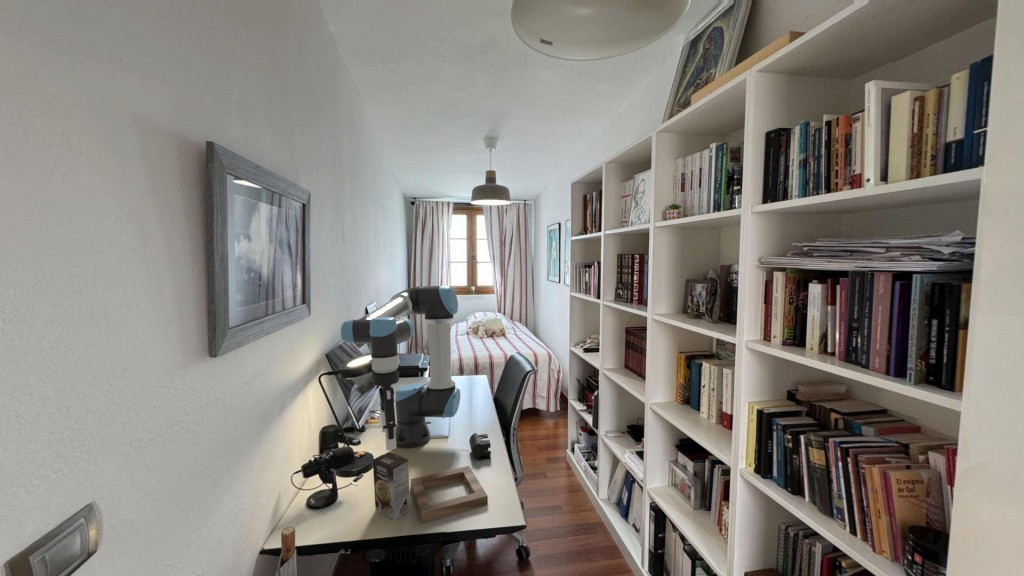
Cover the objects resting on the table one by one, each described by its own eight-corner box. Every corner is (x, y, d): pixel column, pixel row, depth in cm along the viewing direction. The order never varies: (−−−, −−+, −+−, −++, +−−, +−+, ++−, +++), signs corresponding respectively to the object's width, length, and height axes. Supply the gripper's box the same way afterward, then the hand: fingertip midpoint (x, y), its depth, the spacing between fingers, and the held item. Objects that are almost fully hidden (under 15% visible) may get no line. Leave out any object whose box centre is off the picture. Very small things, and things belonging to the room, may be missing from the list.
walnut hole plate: (411, 487, 135) (410, 479, 135) (469, 473, 143) (468, 465, 143) (422, 523, 117) (421, 513, 117) (487, 505, 124) (487, 495, 124)
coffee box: (374, 510, 123) (371, 459, 122) (391, 500, 129) (389, 450, 127) (394, 521, 118) (391, 467, 117) (411, 509, 123) (408, 458, 122)
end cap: (469, 450, 161) (468, 433, 161) (487, 447, 163) (486, 431, 162) (472, 462, 151) (471, 444, 151) (491, 459, 153) (490, 442, 152)
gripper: (369, 362, 130) (372, 426, 132) (375, 382, 107) (379, 460, 109) (393, 359, 133) (396, 422, 134) (404, 378, 110) (407, 454, 111)
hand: (388, 439), depth 122 cm, fingers open, 13 cm apart
